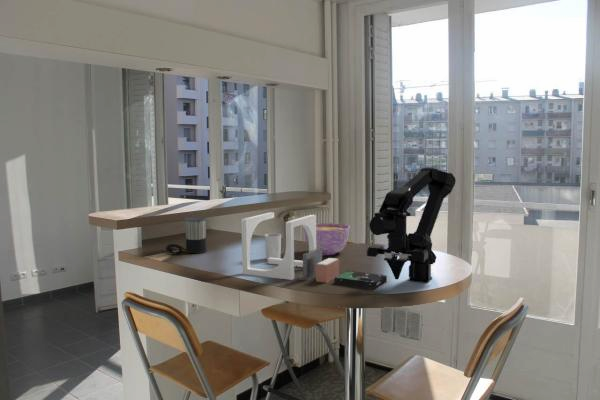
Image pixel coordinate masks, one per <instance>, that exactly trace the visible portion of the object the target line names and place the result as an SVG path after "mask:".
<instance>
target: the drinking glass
mask: <svg viewBox="0 0 600 400" xmlns="http://www.w3.org/2000/svg"><path fill="white" fill-rule="evenodd" d="M264 242H265V245H264V246H265V258H266V260H267V261H268V258H280V259H281V250H282V249H281V247H282V245H281V244H282V234H281V233H272V232H271V233H265V234H264Z"/></svg>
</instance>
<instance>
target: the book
mask: <svg viewBox="0 0 600 400" xmlns="http://www.w3.org/2000/svg"><path fill="white" fill-rule="evenodd" d="M338 275H340V259H338V258H335V257H334V258H333V257H328V258H326V259H324V260H322V262H319V263H317V264H316V277H315V281H316V282H318V283H325V284H327V283H329V282H331V281H334V279H335V277H337V276H338Z"/></svg>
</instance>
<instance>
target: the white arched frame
mask: <svg viewBox="0 0 600 400" xmlns="http://www.w3.org/2000/svg"><path fill="white" fill-rule="evenodd" d="M274 218H275V212H271V211H270V212H265V213H261V214H258V215H254V216H253V215H252V216H249V217H244V218H241V220H240V221H241V225H240V226H241V255H242V257H241V259H242V261H241V262H242V275H249V276H255V277H258V276H259V277H265V278H273V279H280V280H281V279H282V280H290V281H292V280H294V279H295V267H296V266H297V267H298V268H299V267H300V268H303V260H299V259H298V260H297V259H295V239H294V238H295V237H294V236H295V234H294V233H295V231H294V228H295V227H299V226H302V228H303V227H304V228H305V230H306V232H307V235H308V239H309V247H308V252H310V251H313V250H315V249H316V223H317V214H309V215H305V216H301V217H299V218H295V219H292V220H287V221H286V222H285V253H284V256H283V258H281V257H280V258H268V260H267V264H270V265H277V266H275V267H274V268H270V269H263V268H262V269H261V268H255V267H251V242H252V238H253V234H254V231H255V229H256V228H257V226H258V225H259V224H260V223H261V222H265V221H267V220H270V219H274Z"/></svg>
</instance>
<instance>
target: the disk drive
mask: <svg viewBox="0 0 600 400" xmlns="http://www.w3.org/2000/svg"><path fill="white" fill-rule="evenodd" d="M387 280H388V279H387V275H383V274H377V273H369V272H362V271H354V270H346V271H344V272H342V273H340V274H339V275H338V276H337V277H335V278H334V279H333V283H334V284H335V285H343V286H350V287H355V288H362V287H364V289H369V288H370V289H369V290H377V289H378V288H379V286H380V287H381V286H383V285H385V283H387Z"/></svg>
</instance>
